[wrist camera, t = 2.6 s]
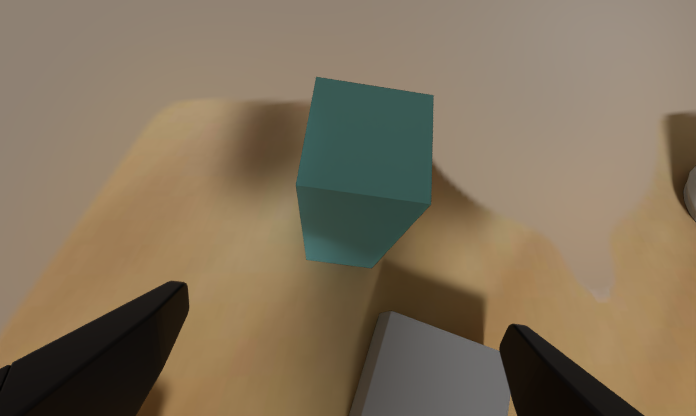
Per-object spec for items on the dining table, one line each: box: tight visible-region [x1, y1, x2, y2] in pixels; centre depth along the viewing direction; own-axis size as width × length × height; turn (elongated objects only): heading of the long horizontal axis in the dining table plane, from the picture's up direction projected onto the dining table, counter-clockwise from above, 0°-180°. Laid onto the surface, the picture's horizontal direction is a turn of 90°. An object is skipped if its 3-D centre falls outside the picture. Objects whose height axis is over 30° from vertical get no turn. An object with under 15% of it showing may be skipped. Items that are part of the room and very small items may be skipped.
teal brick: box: [296, 77, 433, 268], centre depth 17 cm, size 4×4×12 cm
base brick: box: [349, 311, 511, 416], centre depth 18 cm, size 7×7×4 cm
